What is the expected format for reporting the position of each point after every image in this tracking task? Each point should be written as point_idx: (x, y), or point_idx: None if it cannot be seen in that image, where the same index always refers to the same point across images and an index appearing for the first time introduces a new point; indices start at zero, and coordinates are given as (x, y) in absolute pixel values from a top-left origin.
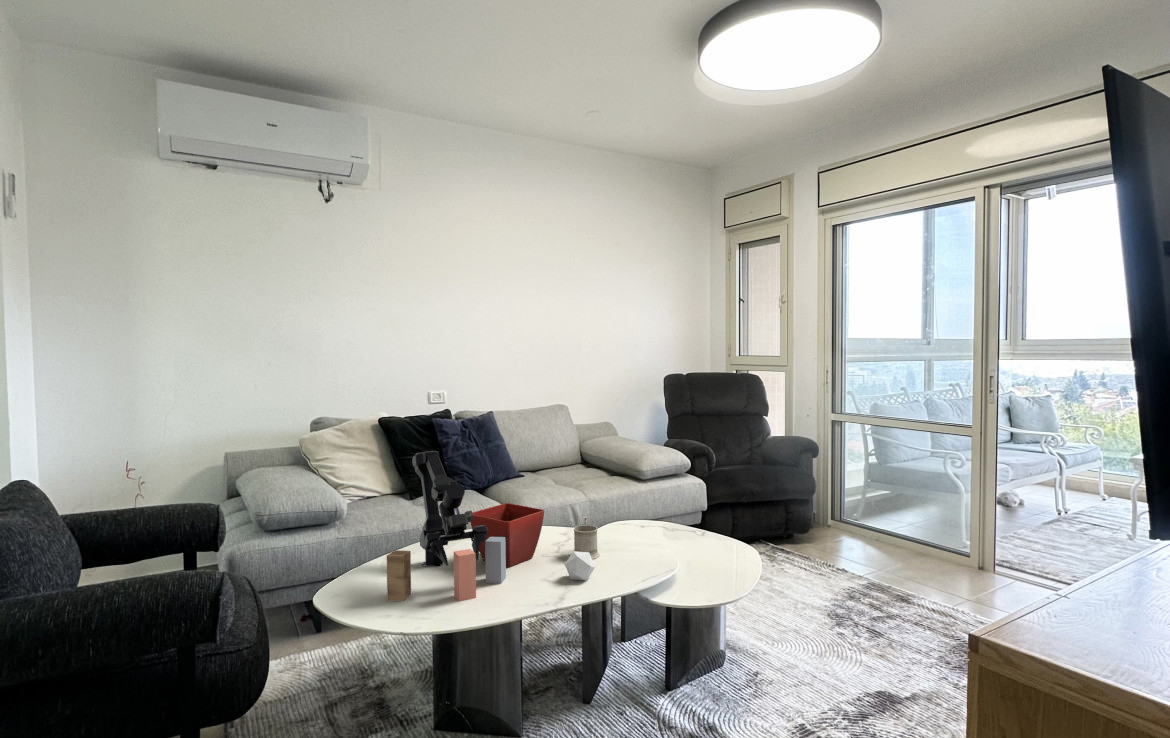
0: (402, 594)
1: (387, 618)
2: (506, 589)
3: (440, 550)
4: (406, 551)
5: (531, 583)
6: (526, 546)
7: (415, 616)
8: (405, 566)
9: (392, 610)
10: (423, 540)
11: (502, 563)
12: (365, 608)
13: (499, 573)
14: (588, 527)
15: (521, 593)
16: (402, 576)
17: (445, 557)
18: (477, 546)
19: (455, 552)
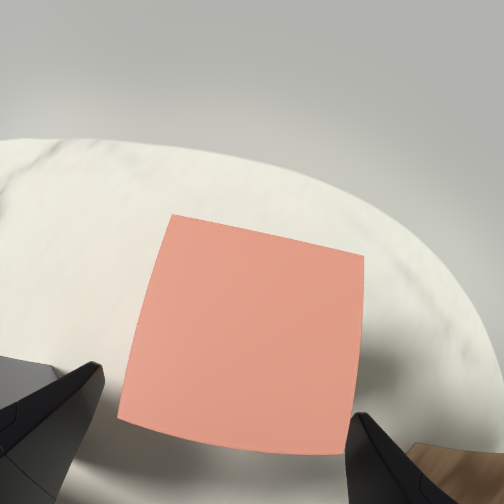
0: (430, 447)
1: (468, 335)
2: (71, 301)
3: (439, 491)
4: None
5: (4, 281)
6: None
7: (423, 303)
8: (489, 475)
9: (453, 384)
10: None
11: None
12: (481, 427)
13: (30, 368)
14: None
15: (69, 234)
16: (477, 452)
17: (387, 449)
18: (20, 415)
19: (345, 404)
